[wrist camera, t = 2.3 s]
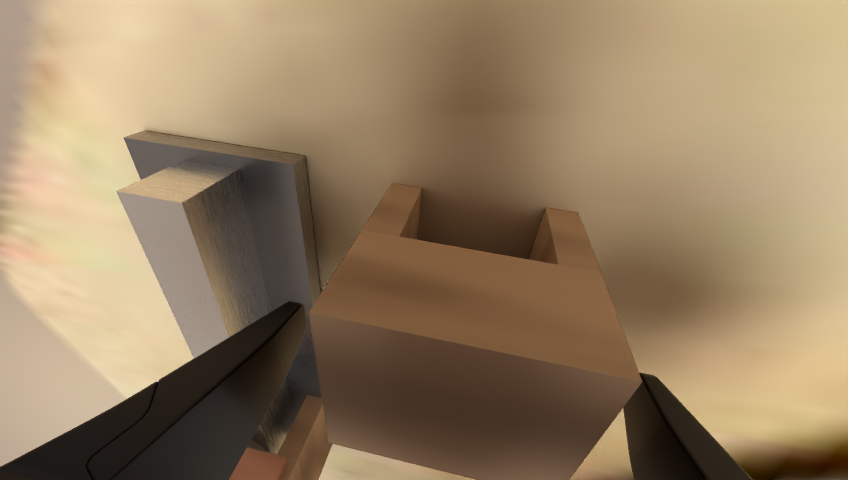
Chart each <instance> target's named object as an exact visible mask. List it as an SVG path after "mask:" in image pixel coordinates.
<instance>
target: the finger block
mask: <svg viewBox="0 0 848 480" xmlns="http://www.w3.org/2000/svg"><path fill="white" fill-rule="evenodd" d="M421 192H422V188H420V187H413V186H407V185H401V184H395V183H392V184H391V186H390V188H389V189H388V191H387V192H386V194H385V195H384V197H383V198H382V200H381V201H380V203H379V205H378V206H377V208H376V209H375V211H374V212H373V214H372V215H371V217H370V218H369V220H368V222H367V223H366V225H365V226H364V228H363V229H362V231H361V232H360V234H359V235H358V237H357V239H356V240H355V242H354V243H353V245H352V246H351V248H350V249H349V251H348V252H347V254H346V256H345V257H344V259H343V260H342V262H341V263H340V265H339V266H338V268H337V269H336V271H335V273H334V274H333V276H332V277H331V279H330V280H329V282H328V283H327V285H326V286H325V288H324V290H323V291H322V293H321V294H320V296H319V297H318V299H317V300H316V302H315V304H314V305H313V307H312V308H311V310H310V311H309V317H310V324H311V330H312V337H313V344H314V350H315V357H316V364H317V370H318V377H319V384H320V390H321V397H322V404H323V410H324V417H325V423H326V430H327V437H328V443H332V444H336V445H340V446H344V447H348V448H352V449H356V450H360V451H364V452H368V453H372V454H376V455H380V456H384V457H388V458H392V459H396V460H400V461H404V462H408V463H412V464H416V465H420V466H424V467H428V468H432V469H436V470H440V471H444V472H448V473H452V474H456V475H460V476H464V477H468V478H472V479H476V480H570V478H571V477H572V476H573V474H574V473H575V472H576V470H577V469H578V467H579V466H580V465H581V463H582V462H583V461H584V459H585V458H586V457H587V455H588V454H589V453H590V451H591V450H592V449H593V447H594V446H595V445H596V443H597V442H598V441H599V439H600V438H601V437H602V435H603V434H604V433H605V431H606V430H607V429H608V427H609V426H610V425H611V423H612V422H613V421H614V419H615V418H616V416H617V415H618V414H619V412H620V411H621V410H622V408H623V407H624V406H625V404H626V403H627V402H628V400H629V399H630V398H631V396H632V395H633V394H634V392H635V391H636V390H637V388H638V387H639V386H640V384H641V383H642V379H641V377H640V374H639V371H638V369H637V366H636V364H635V361H634V358H633V356H632V353H631V350H630V348H629V345H628V342H627V340H626V337H625V335H624V332H623V329H622V327H621V324H620V321H619V319H618V316H617V313H616V311H615V308H614V306H613V303H612V300H611V298H610V295H609V292H608V290H607V287H606V284H605V282H604V279H603V277H602V274H601V271H600V269H599V266H598V263H597V261H596V258H595V255H594V253H593V250H592V248H591V245H590V242H589V240H588V237H587V234H586V232H585V229H584V226H583V224H582V221H581V219H580V216H579V213H576V212H570V211H564V210H557V209H551V208H546V209H545V212H544V215H543V218H542V221H541V224H540V227H539V230H538V233H537V237H536V240H535V243H534V246H533V249H532V252H531V255H530V258H529V259H523V258H518V257H512V256H506V255H501V254H495V253H489V252H484V251H478V250H472V249H467V248H461V247H456V246H450V245H444V244H439V243H433V242H427V241H422V240H417V238H418V226H419V215H420V203H421Z"/></svg>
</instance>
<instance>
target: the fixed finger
mask: <svg viewBox="0 0 848 480" xmlns="http://www.w3.org/2000/svg"><path fill="white" fill-rule="evenodd" d="M331 446H332V443H328V437H327V430H326V423H325V417H324V410H323V404H322V398H320V397H316V396H311V395H307V396H306V398H305V400H304V402H303V404H302V406H301V408H300V410H299V412H298V414H297V416H296V418H295V420H294V422H293V424H292V426H291V428H290V430H289V432H288V434H287V436H286V437H285V439H284V441H283V443H282V445H281V447H280V449H279V451H278V453H277V454H274V453H270V452H266V451H262V450H258V449H255V448H251V447H247V448H246V450H245V452H244V454H243V455H242V457H241V459H240V461H239V463H238V464H237V466H236V468H235V470H234V472H233V473H232V475H231V477H230V479H229V480H318V479H319V476H320V474H321V471H322V469H323V466H324V464H325V461H326V459H327V456H328V454H329V451H330V449H331Z"/></svg>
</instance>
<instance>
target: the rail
mask: <svg viewBox="0 0 848 480" xmlns="http://www.w3.org/2000/svg"><path fill="white" fill-rule="evenodd" d="M124 140H125V142H126V145H127V147H128V149H129V152H130V154H131V157H132V159H133V162H134V164H135V166H136V169H137V171H138V174H139V176H140V179H141V180H140V181H138V182H135V183H133V184H131V185H129V186H127V187H125V188H122V189H120V190H118V191H117V194H118V196H119V198H120V200H121V202H122V204H123V206H124V209H125V211H126V213H127V215H128V217H129V219H130V222H131V224H132V226H133V228H134V230H135V232H136V234H137V237H138V239H139V241H140V243H141V245H142V247H143V250H144V252H145V254H146V256H147V258H148V260H149V262H150V265H151V267H152V269H153V271H154V273H155V275H156V278H157V280H158V282H159V284H160V286H161V288H162V290H163V293H164V295H165V297H166V299H167V301H168V303H169V306H170V308H171V310H172V312H173V314H174V316H175V318H176V321H177V323H178V325H179V327H180V329H181V331H182V334H183V336H184V338H185V340H186V342H187V344H188V346H189V349H190V351H191V353H192V355H193V357H194V358H196V357H197V356H199V355H201V354H202V353H204V352H206V351H207V350H209V349H211V348H212V347H214V346H216V345H217V344H219V343H220V342H222V341H224V340H225V339H227V338H229V337H230V336H232V335H234V334H235V333H237V332H239V331H240V330H242V329H243V328H245V327H247V326H248V325H250V324H252V323H253V322H255V321H257V320H258V319H260V318H262V317H263V316H265V315H267V314H268V313H270V312H271V311H273V310H275V309H276V308H278V307H280V306H281V305H283V304H285V303H286V302H289V301H293V302H298V303H302V304H303V305H304V307H305V313H306V319H307V328H306V332H305V334H304V336H303V339H302V341H301V343H300V346H299V348H298V350H297V353H296V355H295V357H294V360H293V362H292V364H291V367H290V369H289V371H288V374H287V376H286V378H285V380H284V382H283V384H282V386H281V388H280V390H279V391H278V393H277V395H276V397H275V398H274V400H273V402H272V404H271V406H270V407H269V409H268V411H267V413H266V414H265V416H264V418H263V420H262V422H261V423H260V425H259V427H258V429H257V431H256V432H255V434H254V436H253V438H252V439H251V441H250V443H249V445H248V447H251V448H255V449H258V450H262V451H266V452H270V453H274V454H277V453H278V451H279V449H280V447H281V445H282V443H283V441H284V439H285V437H286V436H287V434H288V432H289V430H290V428H291V426H292V424H293V422H294V420H295V418H296V416H297V414H298V412H299V410H300V408H301V406H302V404H303V402H304V400H305V398H306V396H307V395H311V396H316V397H320V398H322V397H321V390H320V384H319V377H318V370H317V364H316V357H315V350H314V344H313V337H312V330H311V324H310V317H309V311H310V310H311V308H312V307H313V305H314V304H315V302H316V300H317V299H318V297H319V296H320V294H321V289H320V281H319V272H318V264H317V255H316V246H315V238H314V229H313V220H312V212H311V203H310V194H309V186H308V177H307V169H306V160H305V156H303V155H297V154H290V153H284V152H278V151H271V150H265V149H258V148H252V147H245V146H239V145H233V144H226V143H220V142H213V141H207V140H200V139H194V138H187V137H181V136H175V135H168V134H162V133H155V132H149V131H142V132H139V133H136V134H133V135H130V136H127V137H124Z"/></svg>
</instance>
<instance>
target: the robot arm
mask: <svg viewBox="0 0 848 480" xmlns="http://www.w3.org/2000/svg"><path fill="white" fill-rule="evenodd" d="M306 328H307V319H306V313H305V307H304V305H303V304H302V303H298V302H293V301H289V302H286V303H285V304H283V305H281V306H280V307H278V308H276V309H275V310H273V311H271V312H270V313H268V314H267V315H265V316H263V317H262V318H260V319H258V320H257V321H255V322H253V323H252V324H250V325H248V326H247V327H245V328H243V329H242V330H240V331H239V332H237V333H235V334H234V335H232V336H230V337H229V338H227V339H225V340H224V341H222V342H220V343H219V344H217V345H216V346H214V347H212V348H211V349H209V350H207V351H206V352H204V353H202V354H201V355H199V356H197V357H196V358H194V359H193V360H191V361H189V362H188V363H186V364H184V365H183V366H181V367H179V368H178V369H176V370H174V371H173V372H171V373H170V374H168V375H166V376H165V377H163V378H161V379H160V380H159V381H158V382H155V383H153V384H151V385H150V386H148V387H146V388H145V389H143V390H141V391H140V392H138V393H136V394H135V395H133V396H131V397H129V398H128V399H126V400H124V401H123V402H121V403H119V404H118V405H116V406H114V407H112V408H111V409H109V410H107V411H105V412H103V413H101V414H100V415H98V416H96V417H94V418H92V419H91V420H89V421H87V422H85V423H83V424H81V425H79V426H77V427H75V428H74V429H72V430H70V431H68V432H66V433H64V434H62V435H60V436H59V437H57V438H55V439H53V440H51V441H49V442H47V443H45V444H43V445H42V446H39V447H38V448H36V449H34V450H32V451H30V452H28V453H26V454H24V455H22V456H20V457H19V458H17V459H15V460H13V461H11V462H9V463H7V464H5V465H3V466H1V467H0V480H229V479H230V477H231V475H232V473H233V472H234V470H235V468H236V466H237V464H238V463H239V461H240V459H241V457H242V455H243V454H244V452H245V450H246V448H247V447H248V445H249V443H250V441H251V439H252V438H253V436H254V434H255V432H256V431H257V429H258V427H259V425H260V423H261V422H262V420H263V418H264V416H265V414H266V413H267V411H268V409H269V407H270V406H271V404H272V402H273V400H274V398H275V397H276V395H277V393H278V391H279V390H280V388H281V386H282V384H283V382H284V380H285V378H286V376H287V374H288V371H289V369H290V367H291V364H292V362H293V360H294V357H295V355H296V353H297V350H298V348H299V346H300V343H301V341H302V339H303V336H304V334H305V332H306ZM639 374H640V377H641V379H642V383H641V384H640V386H639V387H638V388H637V390H636V391H635V392H634V394H633V395H632V396H631V398H630V399H629V400H628V402H627V403H626V404H625V406H624V407H623V409H624V417H625V425H626V433H627V441H628V450H629V456H630V462H631V467H632V472H633V476H634V480H753V479H752V478H751V477H750V476H749V475H748V474H747V473H746V472H745V471H744V470H743V469H742V468H741V467H740V465H739V464H738V463H737V462H736V461H735V460H734V459H733V458H732V457H731V456H730V455H729V454H728V453H727V452H726V450H725V449H724V448H723V447H722V446H721V445H720V444H719V443H718V442H717V441H716V440H715V439H714V438H713V437H712V436H711V434H710V433H709V432H708V431H707V430H706V429H705V428H704V427H703V426H702V425H701V424H700V423H699V422H698V421H697V419H696V418H695V417H694V416H693V415H692V414H691V413H690V412H689V411H688V410H687V409H686V408H685V407H684V406H683V405H682V403H681V402H680V401H679V400H678V399H677V398H676V397H675V396H674V395H673V394H672V393H671V392H670V391H669V390H668V388H667V387H666V386H665V385H664V384H663V383H662V382H661V381H660V380H659V379H658V378H657V377H655V376H653V375H650V374H645V373H639Z"/></svg>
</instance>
